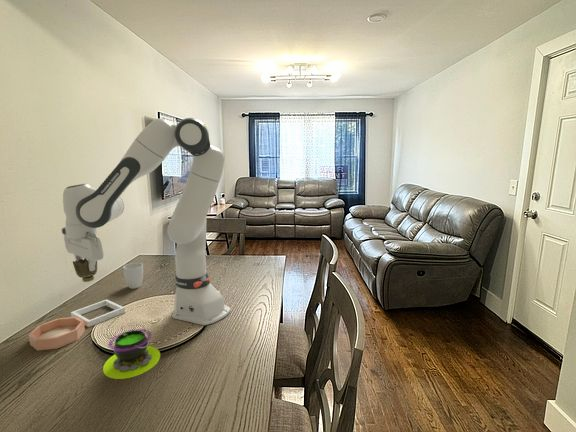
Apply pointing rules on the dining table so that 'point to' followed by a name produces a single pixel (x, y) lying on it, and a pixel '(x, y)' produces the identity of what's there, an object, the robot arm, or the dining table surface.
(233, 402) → the dining table surface
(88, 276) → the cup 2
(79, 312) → the open white square frame
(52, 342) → the bowl
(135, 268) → the cup
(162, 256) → the dining table surface
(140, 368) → the toy cauldron
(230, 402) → the dining table surface
